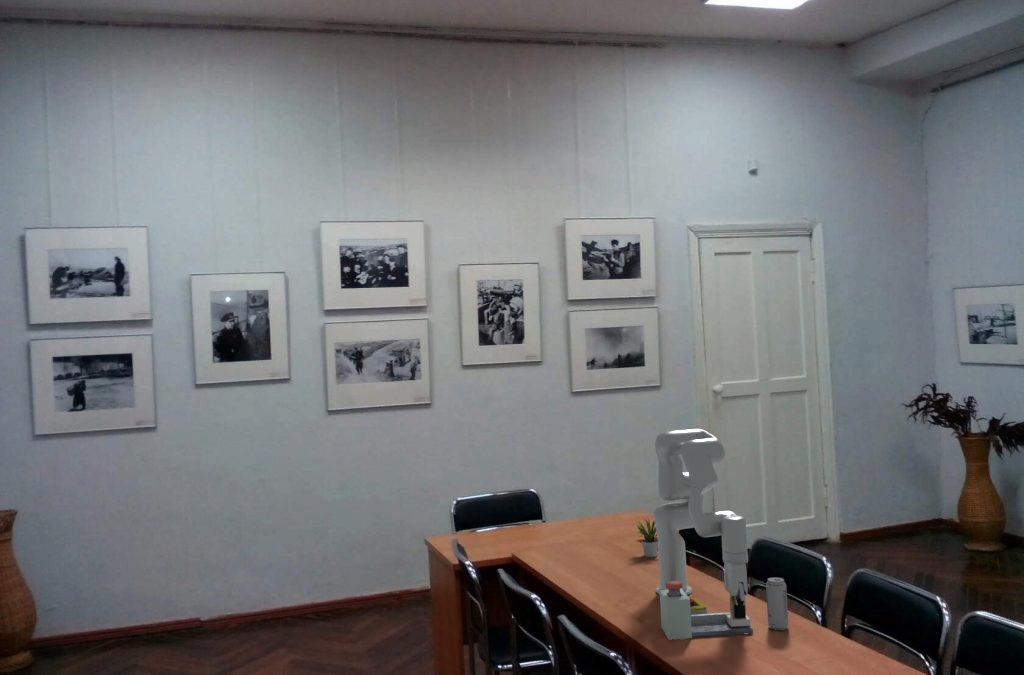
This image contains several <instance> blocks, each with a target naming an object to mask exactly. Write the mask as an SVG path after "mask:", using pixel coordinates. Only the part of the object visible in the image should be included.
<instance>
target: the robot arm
mask: <svg viewBox="0 0 1024 675" xmlns="http://www.w3.org/2000/svg"><path fill="white" fill-rule="evenodd" d="M654 442H655V443H654V446H655V454H656V456H657V461H658V480H657V482H658V495H659V497H660V498H661V499H662V500H663V501H667V502H669V501H671V502H669V503H662V504H660V505H658V506H657V507H655V509H654V511H653V521H655V525H654V526H656V534H657V536H656V537H657V540H658V567H659V585H658V586H657V587H656V588H655V591H656V593H657V594H658V595H660V590H668V588H666V586H665V583H666V582H669V581H678V582H682V585H683V587H682V588H680V589H682V590H683V591H684V592H685V594H686V595H687V596H688V595H691V594H692V593H693V588H692V587H691V586H689V585H688V577H687V573H688V572H687V555H686V554H687V553H686V542H685V540H684V537H683V536H681V534H680V533H679V531H680V530H686V529H693V528H694V530H695V532H696V533H697V535H698V536H700V537H702V538H711V537H719V536H721V548H722V553H721V554H722V561H723V563H724V565H723V588H724V590H725V591H727V593H729V597H730V598H735V605H734V614H735V618H745V606H746V596H747V595H748V593H749V592H748V591H749V590H748V588H749V587H748V576H747V567H746V563H748V562H749V555H748V538H747V536H748V535H747V522H746V519H745V518H744V517H743V516H741V515H737V514H736V513H735V512H734V511H732V510H720V511H710V512H704V494H706V492H709V491H710V490H712V489H713V488H715V486H717V485H718V482H719V477H718V475H717V472H716V470H715V467H714V465H713V464H717V463H721V462H722V461H723V460H724V459H725V454H726V453H725V448H724V446H723V443H722V442H721V440H719V439H718V438H717V436H715V435H713V434H711V433H710V432H708V431H707V430H704V429H702V428H692V429H690V428H689V429H677V430H676V429H675V430H668V431H663V432H661V433H659V434H658V435H656V438H655V441H654ZM680 455H681V456H680ZM683 463H684V464H683ZM684 466H685V468H686V470H687V471H685V472H684V471H683V470H684ZM681 500H685V501H681ZM672 501H673V502H672ZM674 501H676V502H674ZM730 598H729V599H730ZM737 598H738V600H737Z"/></svg>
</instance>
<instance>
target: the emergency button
mask: <svg viewBox="0 0 1024 675" xmlns="http://www.w3.org/2000/svg"><path fill="white" fill-rule="evenodd" d="M689 599H690V610H691V615H697V614H708V612H707V610H708V609H707V606H706V605H705V604H703V603H702V602H701V601H700V600H698V599H697V598H695V597H689Z"/></svg>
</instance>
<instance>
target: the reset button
mask: <svg viewBox="0 0 1024 675" xmlns="http://www.w3.org/2000/svg"><path fill="white" fill-rule="evenodd" d="M665 586H666V588H668V593H669V597H678V596H680V588H682V587H683V585H682V582H678V581H669V582H666V583H665Z"/></svg>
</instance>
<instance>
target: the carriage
mask: <svg viewBox="0 0 1024 675" xmlns="http://www.w3.org/2000/svg"><path fill="white" fill-rule="evenodd" d="M737 600H738V598H737ZM734 605H735V598H729V612H730V615H726V616H727V622H728V623H729V625H730V626H731V627H736V626H751V624H752V623H751V618H750V617H749V616H748V615H747V609H746V608H747V606H746V605H745V618H735V614H734ZM751 627H752V626H751Z"/></svg>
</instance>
